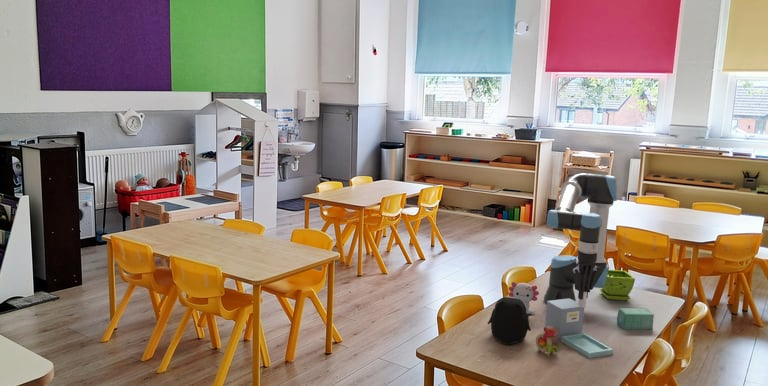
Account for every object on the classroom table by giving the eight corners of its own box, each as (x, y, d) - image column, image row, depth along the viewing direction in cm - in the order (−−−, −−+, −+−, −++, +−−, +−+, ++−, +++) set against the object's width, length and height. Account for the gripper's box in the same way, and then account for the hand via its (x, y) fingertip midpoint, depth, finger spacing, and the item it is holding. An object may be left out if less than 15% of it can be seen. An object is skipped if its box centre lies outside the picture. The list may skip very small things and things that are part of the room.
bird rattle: (534, 358, 248) (553, 356, 241) (527, 330, 249) (546, 328, 243) (543, 354, 252) (562, 352, 245) (536, 326, 253) (555, 324, 247)
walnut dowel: (541, 340, 260) (543, 326, 259) (551, 339, 262) (552, 325, 261) (549, 345, 255) (550, 331, 254) (559, 343, 257) (560, 330, 256)
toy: (505, 314, 287) (508, 283, 285) (508, 308, 295) (511, 278, 292) (535, 319, 282) (538, 288, 280) (538, 314, 290) (541, 283, 287)
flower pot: (633, 302, 311) (636, 278, 309) (605, 301, 311) (607, 277, 309) (622, 293, 325) (625, 269, 322) (596, 291, 325) (598, 268, 322)
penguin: (531, 333, 266) (535, 295, 263) (527, 350, 250) (530, 309, 247) (490, 326, 272) (493, 289, 269) (482, 342, 255) (485, 302, 252)
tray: (561, 340, 260) (561, 336, 260) (583, 337, 265) (584, 333, 264) (589, 358, 245) (589, 353, 244) (612, 354, 250) (613, 349, 249)
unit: (543, 329, 272) (546, 300, 270) (565, 325, 277) (568, 298, 274) (559, 338, 262) (562, 309, 260) (582, 335, 267) (585, 306, 265)
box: (616, 322, 283) (618, 307, 282) (644, 323, 284) (647, 308, 283) (622, 329, 276) (625, 313, 275) (652, 330, 277) (654, 314, 276)
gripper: (581, 255, 248) (575, 311, 252) (606, 252, 253) (600, 307, 257) (568, 250, 254) (563, 304, 259) (593, 247, 260) (588, 301, 264)
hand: (581, 306), depth 258 cm, fingers closed
